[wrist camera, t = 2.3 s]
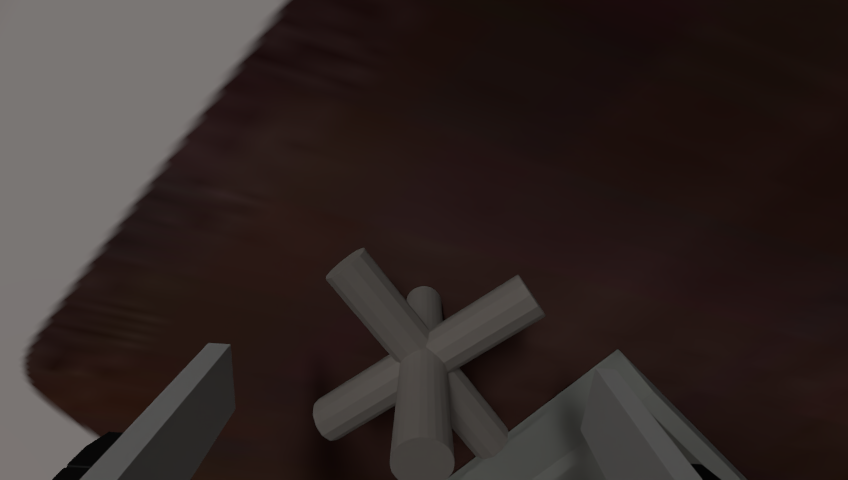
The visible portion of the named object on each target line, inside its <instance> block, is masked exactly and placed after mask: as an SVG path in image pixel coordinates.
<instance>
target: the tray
mask: <svg viewBox="0 0 848 480" xmlns="http://www.w3.org/2000/svg"><path fill="white" fill-rule="evenodd" d="M595 368H601V369H616V370H617V371H618V373H619V374H620V375H621V377H622V378H623V379H624V380H625V382H626V383H627V384H628V385H629V387H630V388H631V389H632V391H633V392H634V393H635V394H636V396H637V397H638V398H639V399H640V401H641V402H642V403H643V404H644V406H645V407H646V408H647V410H648V411H649V412H650V413H651V415H652V416H653V417H654V418H655V420H656V421H657V422H658V424H659V425H660V426H661V427H662V429H663V430H664V431H665V432H666V434H667V435H668V436H669V438H670V439H671V440H672V441H673V443H674V444H675V445H676V446H677V448H678V449H679V450H680V452H681V453H682V454H683V455H684V457H685V458H686V459H687V460H688V462H689V463H690V464H702V465H704V466H705V467H706V468H707V469H709V470H710V471H711V472H712V473H713V474H715V475H716V476H717V477H718V478H720V479H721V480H747V479H746V478H745V477H744V476H743V475H742V474H741V473H740V472H739V471H738V470H737V469H736V468H735V467H734V466H733V465H732V464H731V463H730V462H729V461H728V460H727V459H726V458H725V457H724V456H723V455H722V454H721V453H720V452H719V451H718V450H717V449H716V448H715V447H714V445H713V444H712V443H711V442H710V441H709V440H708V439H707V438H706V437H705V436H704V435H703V434H702V433H701V432H700V431H699V430H698V429H697V428H696V427H695V426H694V425H693V424H692V423H691V422H690V421H689V420H688V419H687V418H686V417H685V416H684V415H683V414H682V413H681V412H680V411H679V410H678V409H677V408H676V407H675V406H674V405H673V404H672V403H671V402H670V401H669V400H668V399H667V398H666V397H665V396H664V395H663V394H662V393H661V392H660V391H659V390H658V389H657V388H656V387H655V386H654V385H653V384H652V383H651V382H650V381H649V380H648V379H647V378H646V377H645V376H644V375H643V374H642V373H641V372H640V371H639V370H638V369H637V368H636V367H635V366H634V365H633V364H632V363H631V362H630V361H629V360H628V359H627V358H626V357H625V356H624V355H623V354H622V353H621V352H620V351H619V349H617V350H616V351H615V352H613V353H612V354H611V355H609V356H608V357H607V358H605V359H604V360H603V361H602V362H600V363H599V364H598V365H596V366H595V367H594V368H592V369H591V370H590V371H588V372H587V373H586V374H584V375H583V376H582V377H580V378H579V379H578V380H577V381H575V382H574V383H573V384H571V385H570V386H569V387H567V388H566V389H565V390H563V391H562V392H561V393H559V394H558V395H557V396H555V397H554V398H553V399H552V400H550V401H549V402H548V403H546V404H545V405H544V406H542V407H541V408H540V409H538V410H537V411H536V412H534V413H533V414H532V415H530V416H529V417H528V418H527V419H525V420H524V421H523V422H521V423H520V424H519V425H517V426H516V427H515V428H513V429H512V430H511V431H509V432H508V440H507V441H506V443H505V445H504V447H503V449H502V450H501V451H500V452H499V453H497V454H496V455H495V456H494V457H491V458H487V459H482V458H479V457H475V458H474V459H473V460H471V461H470V462H469V463H467V464H466V465H465V466H463V467H462V468H461V469H459V470H458V471H457V472H456V473H454V474H453V475H452V476H450V477H449V478H448V479H447V480H606V478H605V476H604V474H603V472H602V470H601V468H600V466H599V464H598V462H597V461H596V459H595V457H594V455H593V453H592V451H591V449H590V447H589V445H588V443H587V441H586V439H585V437H584V436H583V434H582V432H581V430H580V429H581V424H582V420H583V416H584V412H585V408H586V404H587V400H588V396H589V392H590V388H591V384H592V380H593V376H594V372H595Z"/></svg>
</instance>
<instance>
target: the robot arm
mask: <svg viewBox="0 0 848 480" xmlns="http://www.w3.org/2000/svg"><path fill="white" fill-rule="evenodd" d="M234 410H235V398H234V385H233V371H232V357H231V344H215V343H208V344H207V345H206V346H205V347H204V348H203V349H202V351H201V352H200V353H199V354H198V355H197V356H196V357H195V358H194V359H193V360H192V361H191V362H190V363H189V364H188V365H187V366H186V367H185V369H184V370H183V371H182V372H181V373H180V374H179V375H178V376H177V377H176V378H175V379H174V380H173V381H172V382H171V383H170V384H169V385H168V387H167V388H166V389H165V390H164V391H163V392H162V393H161V394H160V395H159V396H158V397H157V398H156V399H155V400H154V401H153V402H152V403H151V405H150V406H149V407H148V408H147V409H146V410H145V411H144V412H143V413H142V414H141V415H140V416H139V417H138V418H137V419H136V420H135V421H134V423H133V424H132V425H131V426H130V427H129V428H128V429H127V430H126V431H125V432H124V433H117V432H108V433H106V434H105V435H103V436H102V437H100V438H98V439H97V440H95V441H94V442H92V443H91V444H89V445H87V446H86V447H85V448H84V449H83V450H82V451H81V452H80V453H79V454H78V455H77V456H76V457H74V458H73V459H72V461H70V462H69V463H68V466H67V467H66V468H63V469H62V470H61V471H60V472H59V473H58V474H57V475H56V476H55V477H54V478H53V479H52V480H190V479H191V478H192V476H193V475H194V473H195V471H196V470H197V468H198V467H199V465H200V464H201V462H202V460H203V459H204V457H205V456H206V454H207V453H208V451H209V449H210V448H211V446H212V445H213V443H214V442H215V440H216V438H217V437H218V435H219V434H220V432H221V431H222V429H223V427H224V426H225V424H226V423H227V421H228V420H229V418H230V416H231V415H232V413H233V412H234ZM580 430H581V432H582V434H583V436H584V437H585V439H586V441H587V443H588V445H589V447H590V449H591V451H592V453H593V455H594V457H595V459H596V461H597V462H598V464H599V466H600V468H601V470H602V472H603V474H604V476H605V478H606V480H721V479H720V478H718V477H717V476H716V475H715V474H713V473H712V472H711V471H710V470H709V469H707V468H706V467H705V466H704V465H702V464H690V463H689V462H688V460H687V459H686V458H685V457H684V455H683V454H682V453H681V452H680V450H679V449H678V448H677V446H676V445H675V444H674V443H673V441H672V440H671V439H670V438H669V436H668V435H667V434H666V432H665V431H664V430H663V429H662V427H661V426H660V425H659V424H658V422H657V421H656V420H655V418H654V417H653V416H652V415H651V413H650V412H649V411H648V410H647V408H646V407H645V406H644V404H643V403H642V402H641V401H640V399H639V398H638V397H637V396H636V394H635V393H634V392H633V391H632V389H631V388H630V387H629V385H628V384H627V383H626V382H625V380H624V379H623V378H622V377H621V375H620V374H619V373H618V371H617V370H616V369H601V368H595V372H594V376H593V380H592V384H591V388H590V392H589V396H588V400H587V404H586V408H585V412H584V416H583V420H582V424H581V429H580Z"/></svg>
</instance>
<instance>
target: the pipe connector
mask: <svg viewBox="0 0 848 480" xmlns="http://www.w3.org/2000/svg"><path fill="white" fill-rule="evenodd" d="M326 280H327V281H328V282H329V283H330V285H331V286H332V287H333V288H334V289H335V291H336V292H337V293H338V294H339V295H340V296H341V298H342V299H343V300H344V301H345V302H346V304H347V305H348V306H349V307H350V308H351V309H352V311H353V312H354V313H355V314H356V315H357V316H358V318H359V319H360V320H361V321H362V322H363V324H364V325H365V326H366V327H367V328H368V329H369V331H370V332H371V333H372V334H373V335H374V337H375V338H376V339H377V340H378V341H379V342H380V344H381V345H382V346H383V347H384V348H385V350H386V351H387V352H388V353H389V354H390V355H388V356H387V357H385V358H384V359H382V360H380V361H379V362H377V363H376V364H374V365H372V366H371V367H369V368H368V369H366V370H364V371H363V372H361V373H360V374H358V375H356V376H355V377H353V378H352V379H350V380H348V381H347V382H345V383H344V384H342V385H340V386H339V387H337V388H336V389H334V390H332V391H331V392H329V393H328V394H326V395H324V396H323V397H321V398H320V399H318V400H317V402H316V403H315V404H314V408H313V417H314V421H315V425H316V427H317V428H318V430H319V431H320V433H321V435H322V436H323V437H325V438H327V439H328V440H330V441H333V440H338V439H340V438H341V437H343V436H345V435H346V434H348V433H350V432H351V431H353V430H355V429H356V428H358V427H360V426H361V425H363V424H365V423H366V422H368V421H370V420H371V419H373V418H375V417H377V416H378V415H380V414H382V413H383V412H385V411H387V410H388V409H390V408H392V407H393V406H395V405H396V406H395V416H394V425H393V435H392V444H391V454H390V467H391V471H392V473H393V474H394V476H395V477H396V478H397V479H398V480H447V479H448V477H449V476H450V475H451V474H452V471H453V469H454V462H455V461H454V449H453V437H452V429H453V430H454V431H455V432H456V433H457V434H458V436H459V437H460V438H461V439H462V440H463V442H464V443H465V444H466V445H467V446H468V447H469V449H470V450H471V451H472V452H473V453H474V454H475V456H476V457H479V458H482V459H487V458H491V457H494V456H495V455H496V454H497V453H499V452H500V451H501V450H502V449H503V447H504V445H505V443H506V441H507V440H508V429H507V428H506V426H505V425H504V423H503V422H502V421H501V419H500V418H499V417H498V416H497V414H496V413H495V412H494V411H493V409H492V408H491V407H490V406H489V404H488V403H487V402H486V400H485V399H484V398H483V397H482V395H481V394H480V393H479V392H478V390H477V389H476V388H475V387H474V385H473V384H472V383H471V382H470V380H469V379H468V378H467V377H466V375H465V374H464V373H463V372H462V370H461V369H460V368H459V367H461V366H462V365H464V364H466V363H467V362H469V361H471V360H472V359H474V358H476V357H478V356H479V355H481V354H483V353H484V352H486V351H488V350H489V349H491V348H493V347H494V346H496V345H498V344H499V343H501V342H503V341H504V340H506V339H508V338H510V337H511V336H513V335H515V334H516V333H518V332H520V331H521V330H523V329H525V328H526V327H528V326H530V325H531V324H533V323H535V322H536V321H538V320H540V319H541V318H543V317H545V314H544V312H543V310H542V309H541V307H540V306H539V304H538V303H537V301H536V299H535V298H534V296H533V295H532V293H531V292H530V290H529V289H528V288H527V286H526V285H525V283H524V282H523V280H522V279H521V277H520V276H519V275H517V276H515V277H513V278H512V279H510V280H509V281H507V282H505V283H504V284H502V285H501V286H499V287H497V288H496V289H494V290H493V291H491V292H489V293H488V294H486V295H484V296H483V297H481V298H480V299H478V300H476V301H475V302H473V303H472V304H470V305H468V306H467V307H465V308H464V309H462V310H460V311H459V312H457V313H456V314H454V315H452V316H451V317H449V318H448V319H446V320H444V321H443V318H442V306H441V298H440V296H439V294H438V293H437V292H436V291H435V290H434V289H432V288H430V287H427V286H421V287H417V288H415V289H413V290H412V291H411V292H410V293H409V295H408V297H407V301H406V300H405V299H404V298H403V296H402V295H401V294H400V292H399V291H398V290H397V289H396V287H395V286H394V285H393V284H392V282H391V281H390V280H389V279H388V277H387V276H386V275H385V274H384V272H383V271H382V270H381V269H380V267H379V266H378V265H377V264H376V262H375V261H374V260H373V259H372V257H371V256H370V255H369V254H368V252H367V251H366V250H365V249H364V248H361V249H359V250H357V251H355V252H354V253H352V254H350V255H349V256H348V257H346V258H345V259H344V260H343V261H341V262H340V263H339V264H338V265H337V266H336V267H334V268H333V269H332V270H331V271H330V273H329V274H328V275H327V276H326Z"/></svg>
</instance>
